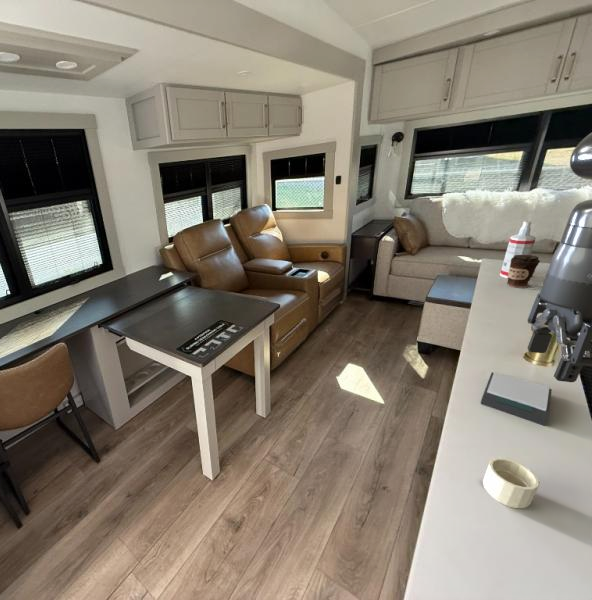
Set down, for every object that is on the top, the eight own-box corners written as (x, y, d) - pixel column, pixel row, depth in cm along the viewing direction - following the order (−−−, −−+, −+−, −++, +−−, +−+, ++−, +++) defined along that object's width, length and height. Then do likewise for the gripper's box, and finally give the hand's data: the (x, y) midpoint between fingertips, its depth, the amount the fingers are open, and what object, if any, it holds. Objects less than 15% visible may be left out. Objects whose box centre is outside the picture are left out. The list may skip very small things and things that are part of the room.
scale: (489, 378, 86) (492, 369, 85) (549, 396, 78) (552, 386, 77) (480, 403, 78) (483, 394, 77) (544, 426, 71) (549, 416, 69)
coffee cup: (524, 290, 131) (533, 260, 126) (499, 285, 138) (507, 256, 133) (535, 285, 134) (545, 256, 129) (510, 280, 141) (518, 252, 136)
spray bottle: (498, 277, 146) (514, 222, 136) (500, 272, 150) (516, 219, 141) (522, 279, 140) (540, 223, 131) (524, 275, 145) (541, 220, 135)
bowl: (497, 473, 62) (505, 453, 60) (538, 503, 56) (548, 481, 54) (473, 484, 60) (480, 464, 58) (513, 515, 55) (522, 494, 53)
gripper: (664, 292, 39) (611, 396, 45) (590, 259, 51) (555, 346, 57) (579, 289, 42) (540, 387, 48) (527, 259, 54) (501, 341, 60)
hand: (548, 364), depth 53 cm, fingers open, 8 cm apart
